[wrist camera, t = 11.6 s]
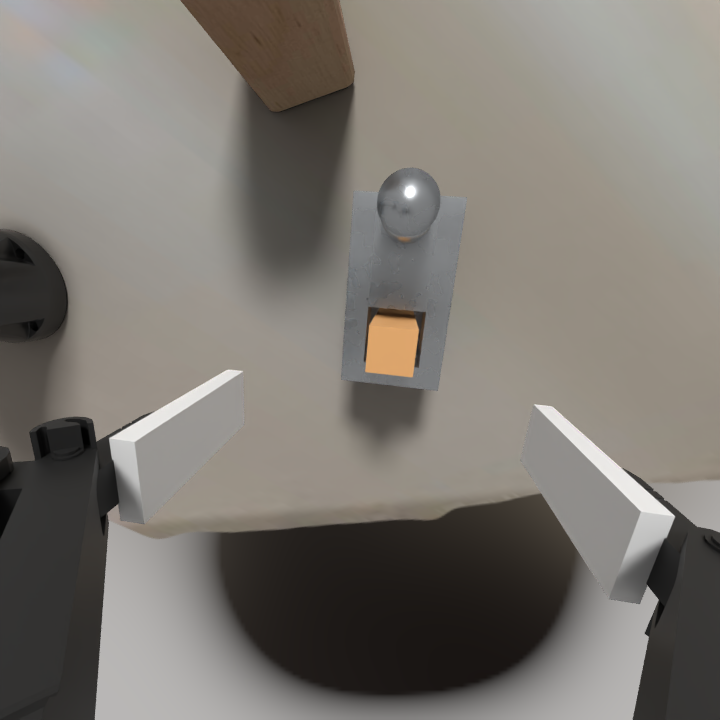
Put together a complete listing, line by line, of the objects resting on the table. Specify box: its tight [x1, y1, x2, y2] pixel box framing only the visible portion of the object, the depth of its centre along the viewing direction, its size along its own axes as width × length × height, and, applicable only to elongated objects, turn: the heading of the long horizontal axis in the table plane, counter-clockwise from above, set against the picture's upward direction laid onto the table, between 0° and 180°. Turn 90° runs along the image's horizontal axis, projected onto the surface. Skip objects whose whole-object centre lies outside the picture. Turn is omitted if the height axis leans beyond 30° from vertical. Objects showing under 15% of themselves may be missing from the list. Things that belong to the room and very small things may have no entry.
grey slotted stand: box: [341, 168, 467, 391], centre depth 33 cm, size 10×18×16 cm, turn 175°
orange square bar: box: [365, 308, 419, 377], centre depth 34 cm, size 4×4×14 cm
